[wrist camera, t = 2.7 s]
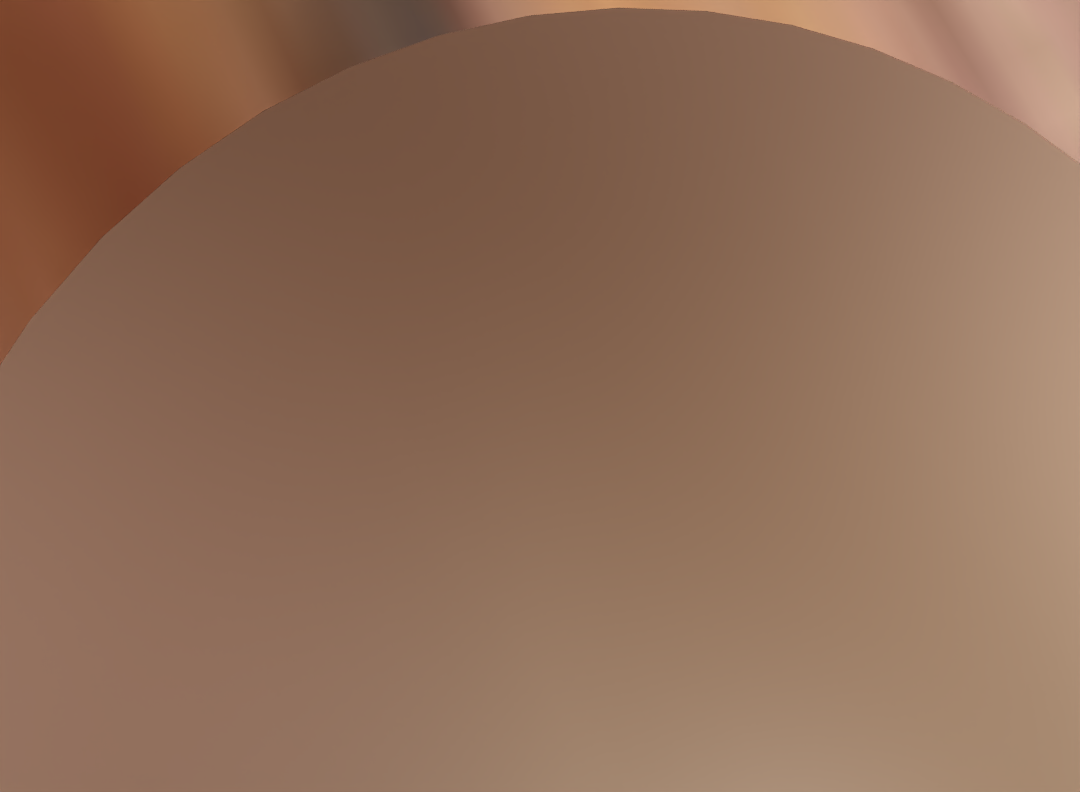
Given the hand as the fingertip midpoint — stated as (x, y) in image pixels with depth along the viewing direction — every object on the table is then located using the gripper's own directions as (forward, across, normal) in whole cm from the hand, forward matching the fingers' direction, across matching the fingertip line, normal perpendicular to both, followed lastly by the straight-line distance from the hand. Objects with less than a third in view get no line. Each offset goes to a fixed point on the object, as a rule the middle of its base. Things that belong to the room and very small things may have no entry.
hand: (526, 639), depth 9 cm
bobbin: (+6, 0, +6) cm, 8 cm away
